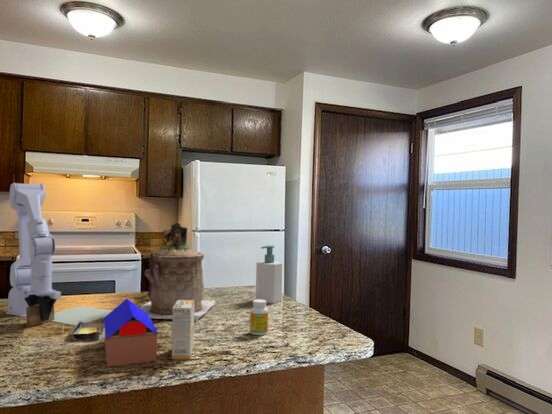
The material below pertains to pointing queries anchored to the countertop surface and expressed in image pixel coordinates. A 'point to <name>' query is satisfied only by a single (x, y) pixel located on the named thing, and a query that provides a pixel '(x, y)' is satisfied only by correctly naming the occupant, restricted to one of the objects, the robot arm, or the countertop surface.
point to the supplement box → (183, 329)
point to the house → (129, 335)
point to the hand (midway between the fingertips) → (40, 319)
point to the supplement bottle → (259, 318)
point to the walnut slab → (36, 316)
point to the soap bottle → (269, 278)
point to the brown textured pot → (175, 276)
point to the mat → (79, 315)
